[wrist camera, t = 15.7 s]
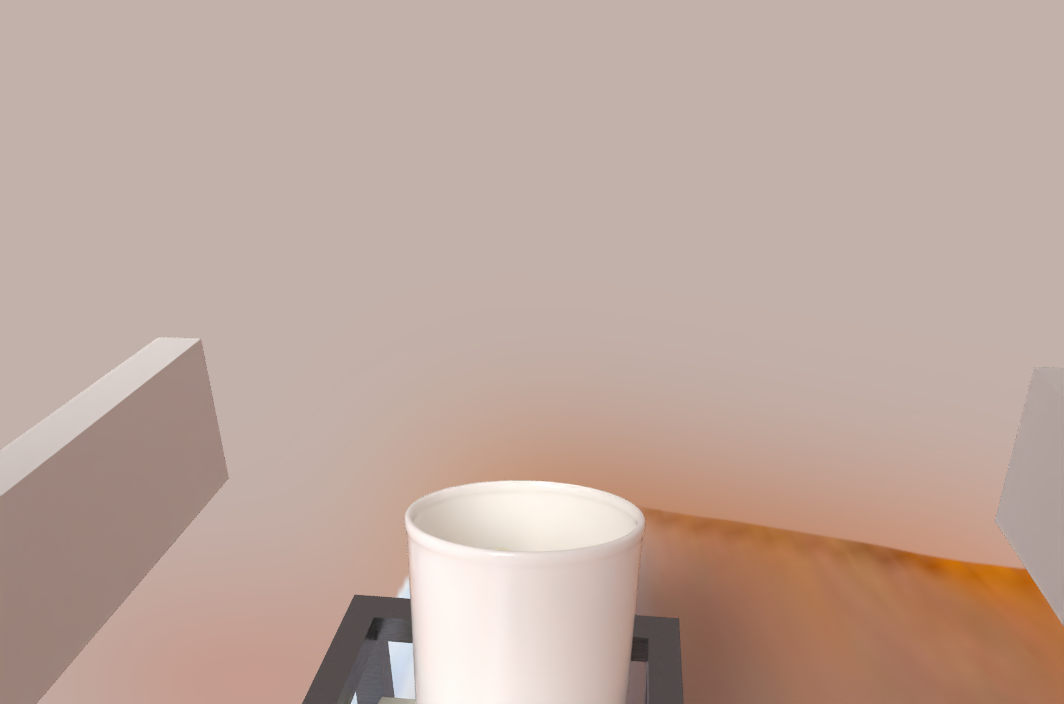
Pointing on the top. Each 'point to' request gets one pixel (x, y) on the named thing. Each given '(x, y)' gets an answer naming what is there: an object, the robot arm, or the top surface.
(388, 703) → the trapdoor
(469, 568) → the candle holder
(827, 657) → the top surface
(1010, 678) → the top surface
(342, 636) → the stand
